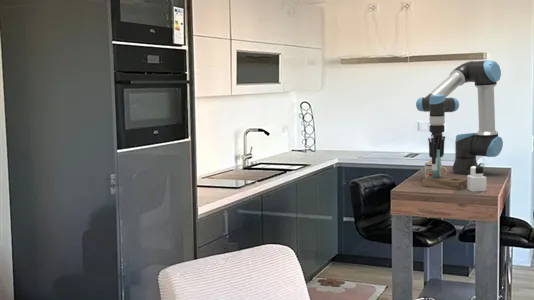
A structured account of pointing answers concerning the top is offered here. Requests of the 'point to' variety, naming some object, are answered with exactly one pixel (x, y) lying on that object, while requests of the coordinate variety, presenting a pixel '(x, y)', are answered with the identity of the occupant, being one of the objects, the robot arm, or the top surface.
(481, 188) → the medicine bottle
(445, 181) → the walnut hole block
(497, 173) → the top surface
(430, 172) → the teacup with lid
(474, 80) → the robot arm
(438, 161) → the teal peg
